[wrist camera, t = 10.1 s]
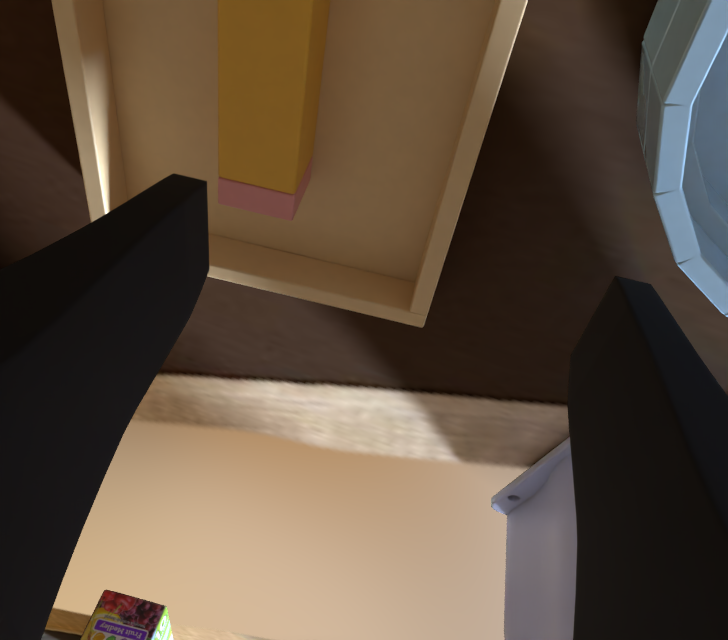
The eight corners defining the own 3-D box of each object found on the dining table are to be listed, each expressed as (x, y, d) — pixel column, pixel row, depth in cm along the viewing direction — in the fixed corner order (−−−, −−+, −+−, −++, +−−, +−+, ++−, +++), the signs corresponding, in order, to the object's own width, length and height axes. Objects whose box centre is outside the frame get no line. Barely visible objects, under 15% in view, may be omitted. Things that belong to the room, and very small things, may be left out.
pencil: (310, 180, 20) (292, 222, 19) (241, 163, 20) (217, 204, 19) (355, -219, 13) (332, -205, 12) (251, -243, 13) (214, -232, 12)
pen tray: (429, 288, 23) (423, 328, 22) (121, 215, 23) (95, 249, 22) (634, -372, 12) (648, -378, 10) (23, -507, 12) (-46, -532, 10)
